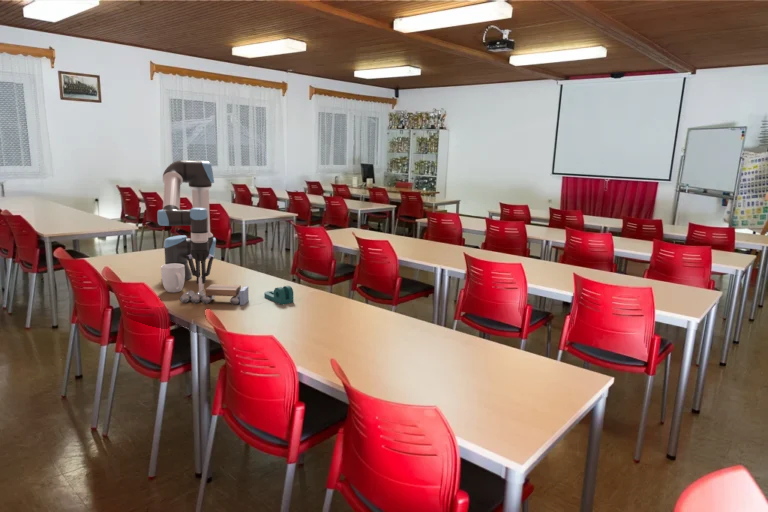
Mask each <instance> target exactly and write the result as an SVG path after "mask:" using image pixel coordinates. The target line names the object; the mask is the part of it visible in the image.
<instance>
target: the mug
mask: <svg viewBox="0 0 768 512" xmlns="http://www.w3.org/2000/svg"><path fill="white" fill-rule="evenodd" d="M160 273H161V282H162V285H163V287H164V289H165V291H166V292H167V293H179V292H181V291H182V290H183V288H184V285H185V281H186V280H185V266H184V265H183V264H176V263H173V264H165V263H164V264H162V265H161V266H160Z"/></svg>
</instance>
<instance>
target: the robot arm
mask: <svg viewBox="0 0 768 512" xmlns="http://www.w3.org/2000/svg"><path fill="white" fill-rule="evenodd" d="M162 182H163V184H164V185H163V186H164V187H163V201H162V209H158V210H157V214H156V215H157V224H158V225H159V226H164V227H165V226H166V227H174V226H175V227H177V226H178V227H179V226H181V227H182V226H183V227H184V226H185V227H186V226H189V227H190V237H188V236H187V235H185V234H183V235H181V234H179V235H173V236H169V237H167V238H165V240H164V242H163V245H164V246H163V249H164V265H165V264H173V263H176V264H183V265H184V266H185V281H187V280H190V279H192V277H196V284H198V291H203V292H204V291H205V284H206V281H207V278H206V277H209V275H210V273H211V270H212V265H213V261H214V259H215V258H216V257H215V252H216V246H217V245H216V243H217V239H216V237H214V234H213V233H212V232H211V219H210V217H211V216H210V189H211V188H212V187H213V185H212V184H214V183H215V178H214V172H213V165H212V163H211V162H210V161H208V160H176V161H174V162H172V163H170V164H169V165H168V166H167V167H166V168H165V170H164V172H163V174H162ZM183 183H185V184H186V183H188V187H189V188H190V190H191V197H192V198H191V199H192V203H191V204H192V207H191V209H181V185H182V184H183ZM207 259H208V262H207V265H206V261H207ZM194 261H195V262H194Z"/></svg>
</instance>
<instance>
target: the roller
mask: <svg viewBox="0 0 768 512" xmlns="http://www.w3.org/2000/svg"><path fill="white" fill-rule="evenodd" d="M229 302H230V305H233V306H237V305H238V304H240V293H239V294H238V295H237V296H231V298H230V299H229Z"/></svg>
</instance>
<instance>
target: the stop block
mask: <svg viewBox="0 0 768 512" xmlns="http://www.w3.org/2000/svg"><path fill="white" fill-rule="evenodd" d="M248 302H249V286H248V285H247V286H246V285H245V286H243V287H241V290H240V302H239V306H245V305H246V304H247V303H248Z"/></svg>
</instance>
